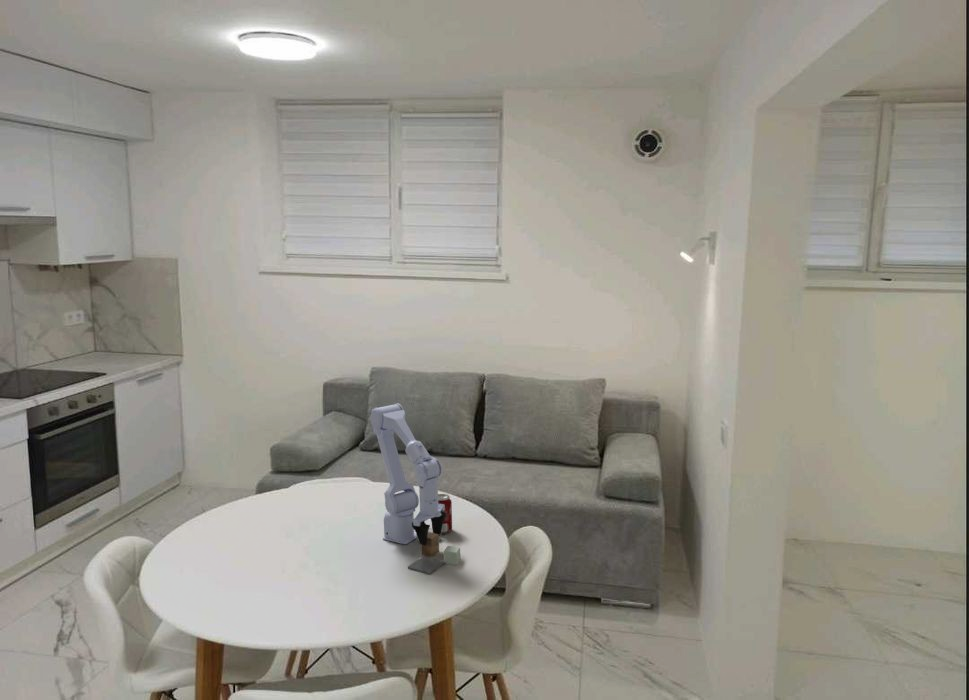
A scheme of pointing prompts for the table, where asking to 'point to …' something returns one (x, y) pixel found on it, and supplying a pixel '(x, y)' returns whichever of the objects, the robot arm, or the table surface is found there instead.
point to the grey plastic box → (428, 531)
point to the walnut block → (431, 545)
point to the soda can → (447, 502)
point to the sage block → (452, 555)
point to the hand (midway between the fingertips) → (430, 539)
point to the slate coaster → (426, 565)
